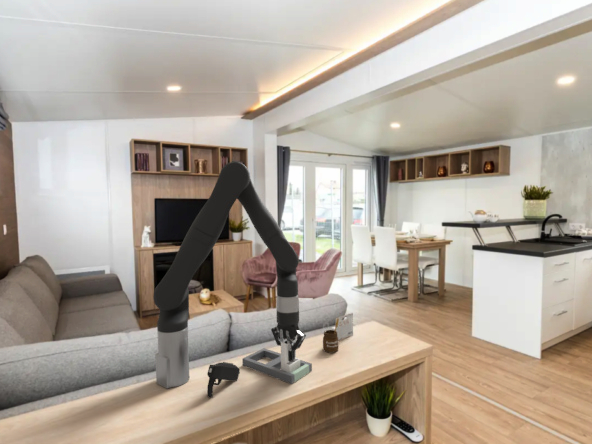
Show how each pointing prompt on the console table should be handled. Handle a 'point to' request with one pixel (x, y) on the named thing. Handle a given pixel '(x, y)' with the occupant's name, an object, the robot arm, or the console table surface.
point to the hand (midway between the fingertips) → (288, 359)
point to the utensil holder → (330, 339)
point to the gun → (221, 375)
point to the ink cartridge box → (344, 326)
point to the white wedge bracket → (285, 363)
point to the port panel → (275, 366)
